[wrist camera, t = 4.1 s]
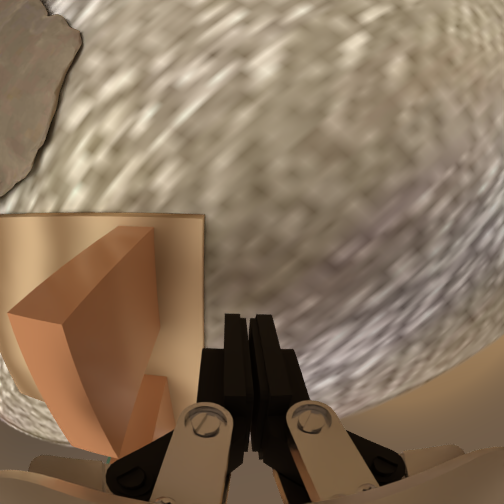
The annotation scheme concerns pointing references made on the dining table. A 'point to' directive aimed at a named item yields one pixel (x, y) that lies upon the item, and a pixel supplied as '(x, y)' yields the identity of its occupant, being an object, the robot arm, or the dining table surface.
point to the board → (167, 279)
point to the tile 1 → (93, 336)
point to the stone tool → (29, 81)
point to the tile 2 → (148, 415)
